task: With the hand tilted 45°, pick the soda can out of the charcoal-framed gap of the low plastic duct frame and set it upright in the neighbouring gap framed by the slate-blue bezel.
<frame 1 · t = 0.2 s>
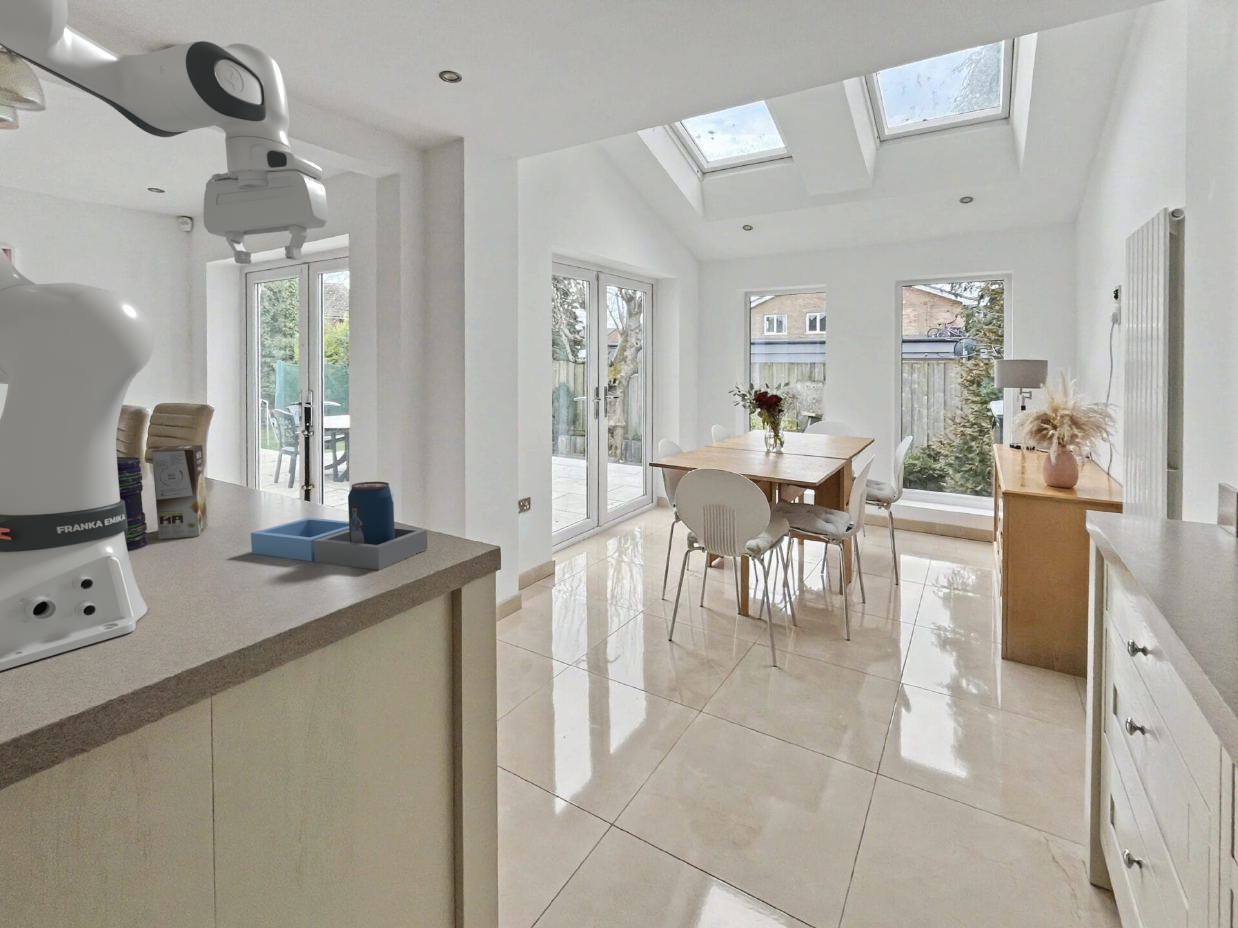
hand: (268, 261, 97), 47 cm above the countertop, tool pointing down, fingers open, 8 cm apart
soda can: (373, 556, 104), resting in duct frame
duct frame: (343, 551, 106), on the countertop
storage jar: (112, 549, 106), on the countertop
coffee box: (184, 533, 117), on the countertop
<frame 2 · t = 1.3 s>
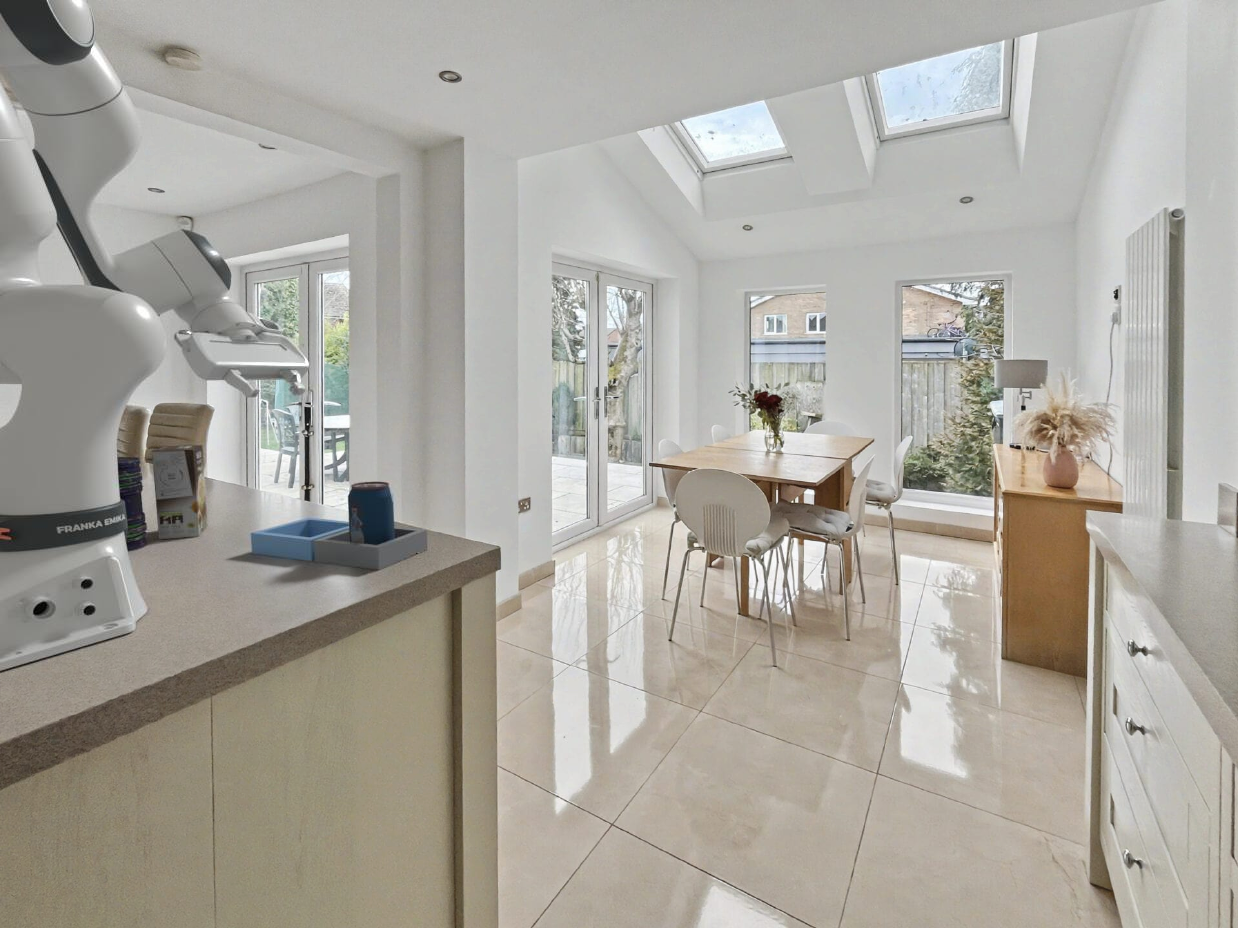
hand: (278, 394, 104), 26 cm above the countertop, tool tilted 45°, fingers open, 8 cm apart
nothing on the countertop moved.
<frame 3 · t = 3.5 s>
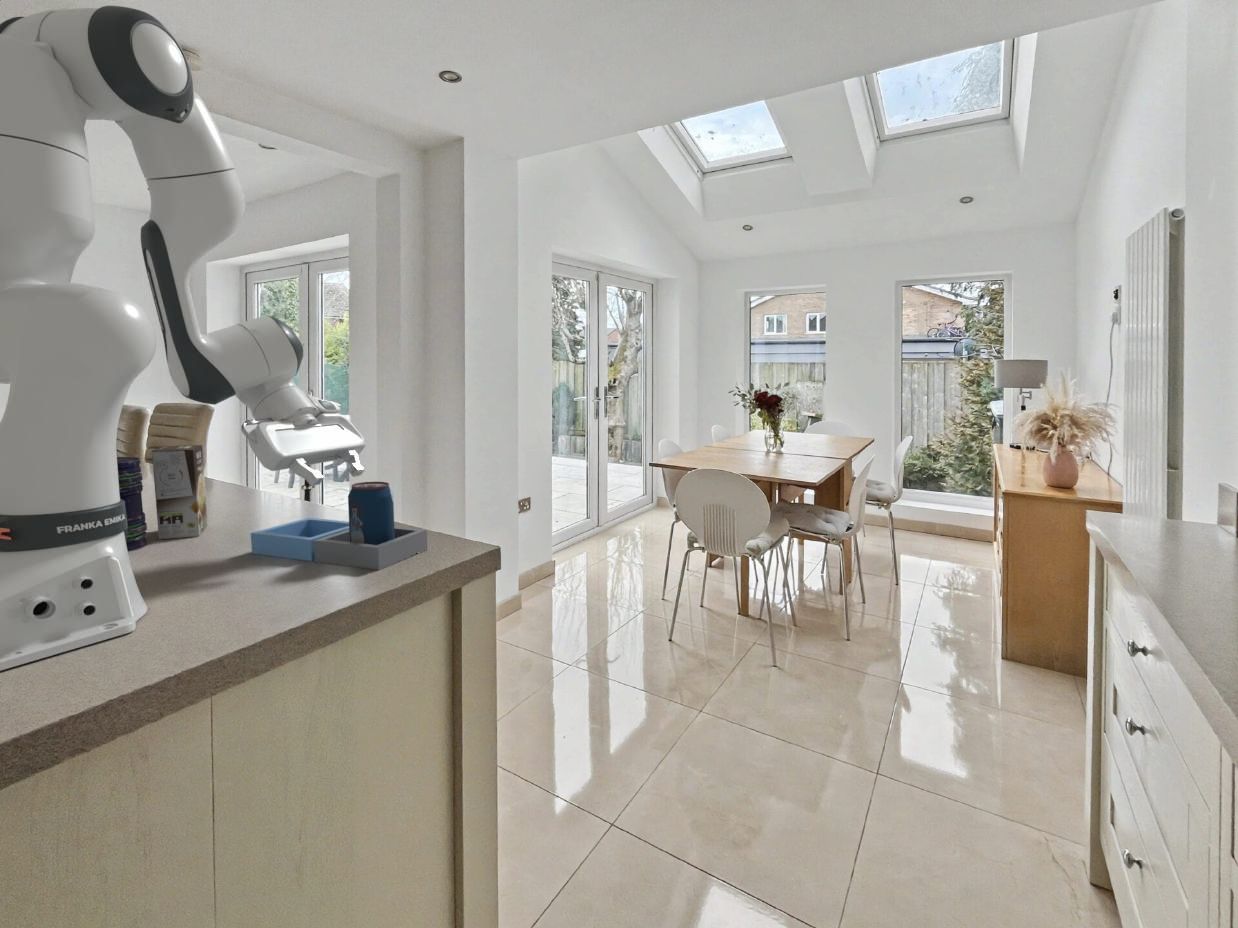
hand: (339, 478, 105), 13 cm above the countertop, tool tilted 45°, fingers open, 8 cm apart
nothing on the countertop moved.
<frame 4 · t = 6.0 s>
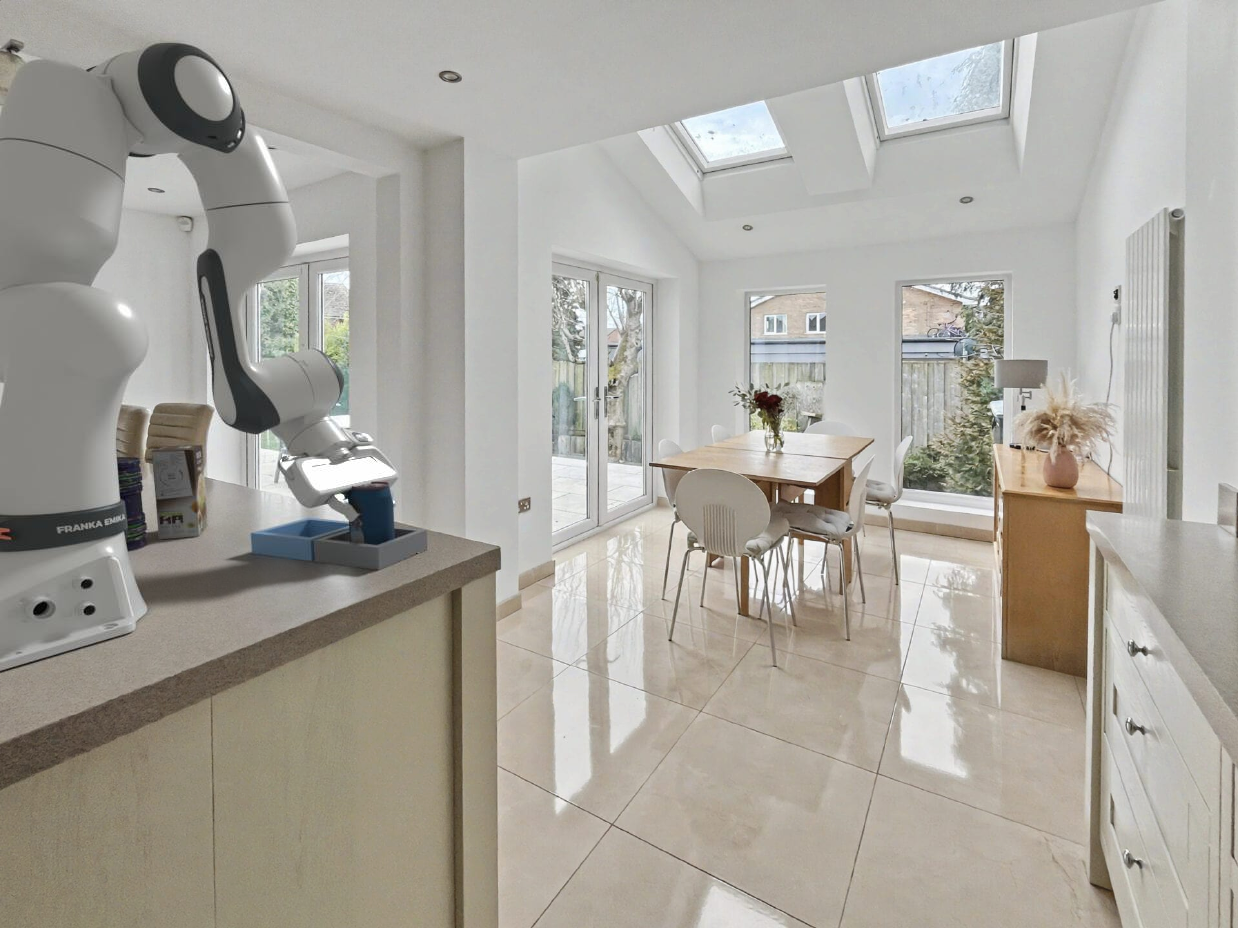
hand: (374, 513, 103), 7 cm above the countertop, tool tilted 45°, fingers closed on soda can, 7 cm apart
soda can: (373, 556, 104), resting in duct frame, touching gripper
everything else where it was.
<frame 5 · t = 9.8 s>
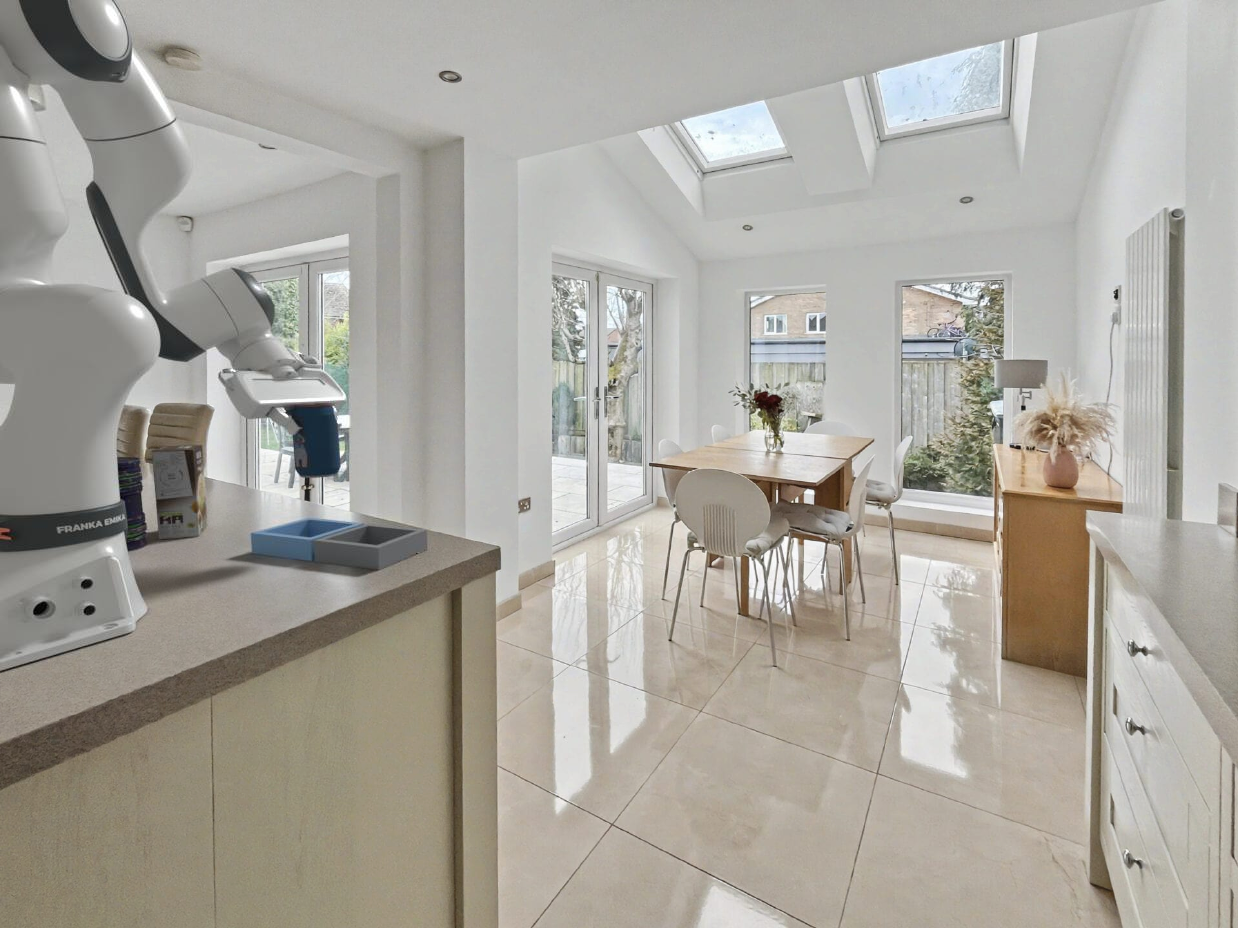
hand: (318, 430, 105), 20 cm above the countertop, tool tilted 45°, fingers closed on soda can, 7 cm apart
soda can: (318, 476, 106), point 13 cm above the countertop, touching gripper
everything else where it was.
when the fingers open (9 cm above the countertop, at t = 13.9 s): soda can stays where it is, resting in duct frame.
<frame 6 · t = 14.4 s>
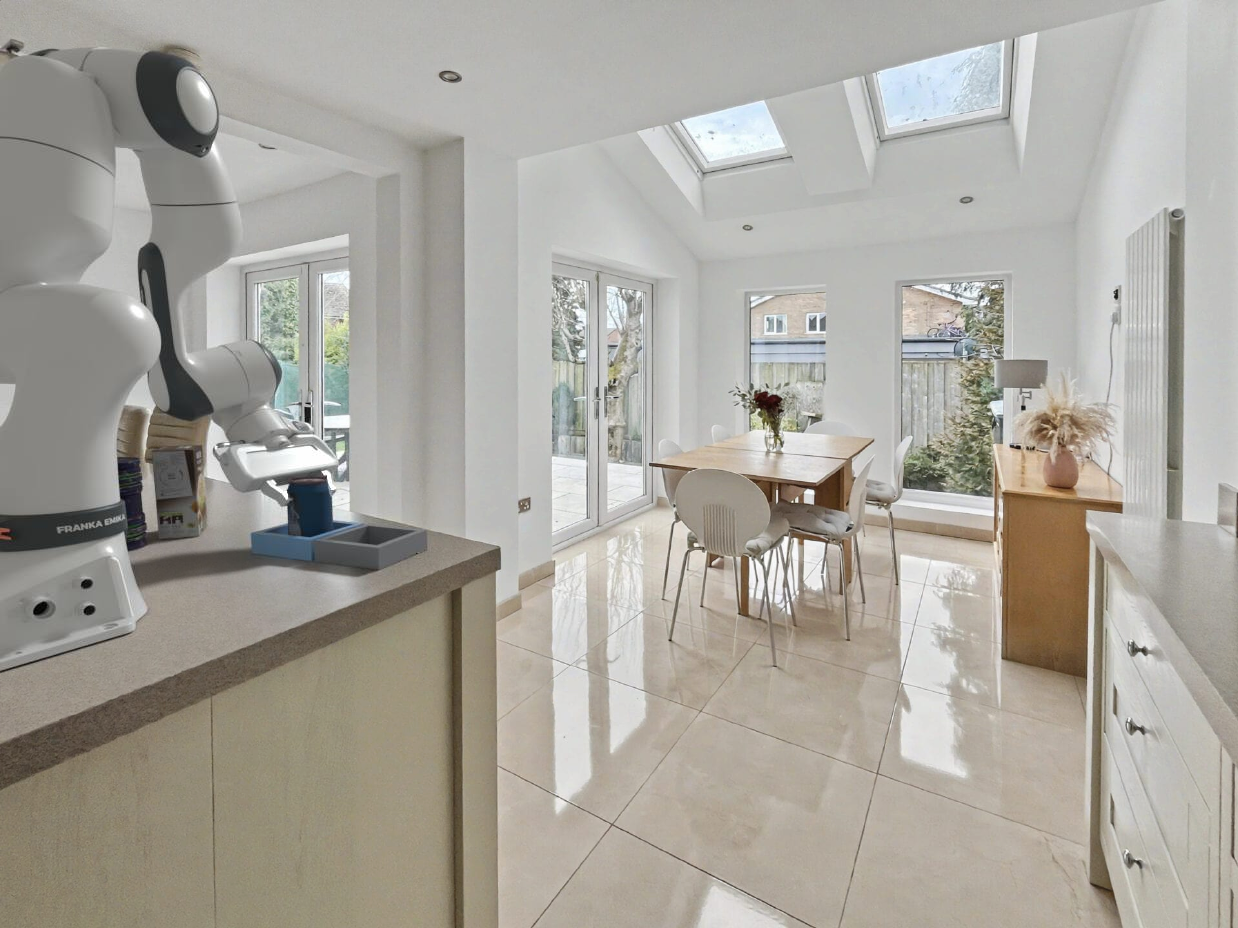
hand: (310, 498, 107), 9 cm above the countertop, tool tilted 45°, fingers open, 8 cm apart
soda can: (311, 549, 108), resting in duct frame
everything else where it was.
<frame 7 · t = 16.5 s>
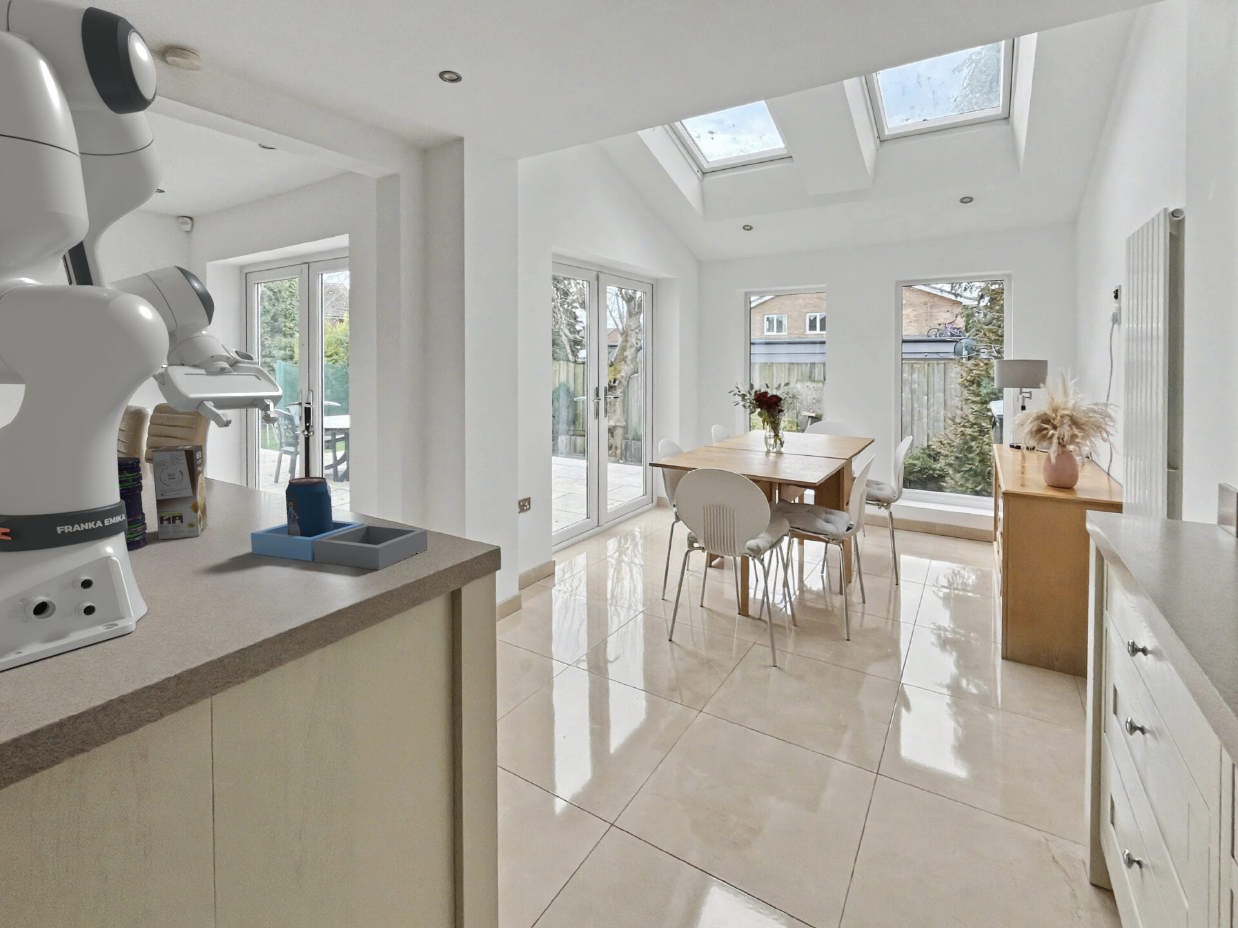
hand: (250, 423, 109), 21 cm above the countertop, tool tilted 45°, fingers open, 8 cm apart
nothing on the countertop moved.
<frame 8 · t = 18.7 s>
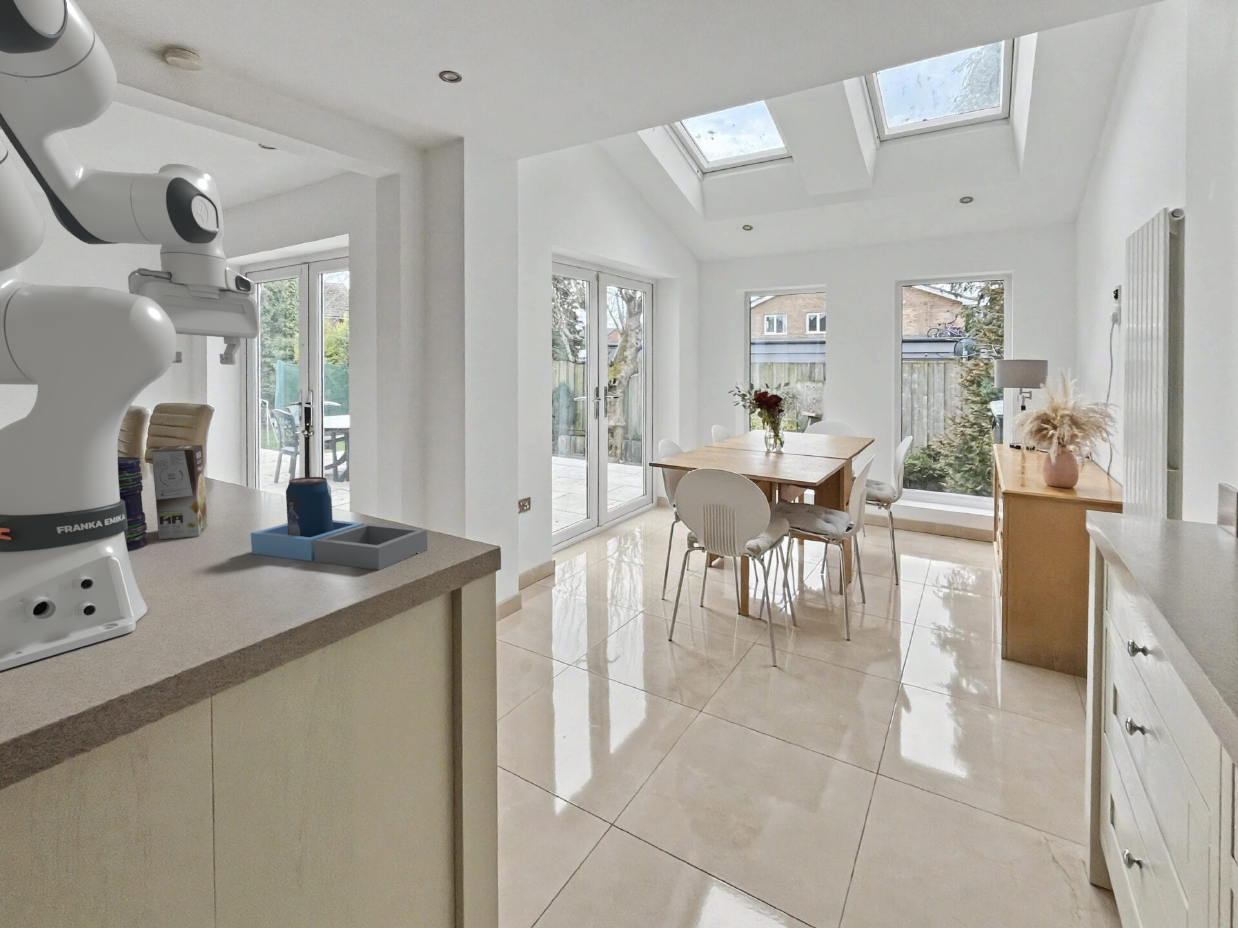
hand: (202, 363, 103), 31 cm above the countertop, tool pointing down, fingers open, 8 cm apart
nothing on the countertop moved.
at the end: soda can 0.3 cm from the target spot on the duct frame, point 0.0 cm above the duct frame's base; soda can tilted 0°; the gripper is holding nothing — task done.
